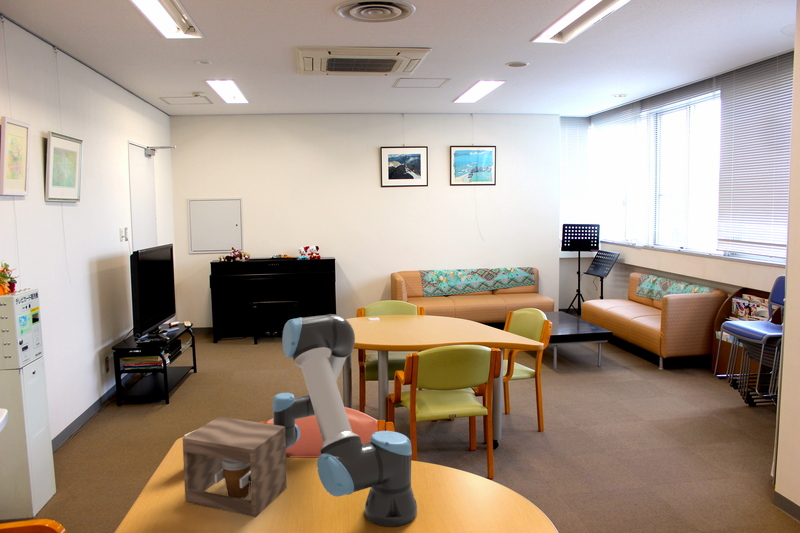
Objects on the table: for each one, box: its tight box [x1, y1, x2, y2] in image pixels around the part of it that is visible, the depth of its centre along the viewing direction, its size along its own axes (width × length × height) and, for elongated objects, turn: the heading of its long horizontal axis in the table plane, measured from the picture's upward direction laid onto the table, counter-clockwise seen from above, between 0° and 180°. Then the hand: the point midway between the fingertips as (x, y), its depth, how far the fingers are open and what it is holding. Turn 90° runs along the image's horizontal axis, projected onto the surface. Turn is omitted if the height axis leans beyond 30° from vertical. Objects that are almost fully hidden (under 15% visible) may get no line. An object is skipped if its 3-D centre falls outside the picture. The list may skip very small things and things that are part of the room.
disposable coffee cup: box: [221, 459, 251, 499], centre depth 168 cm, size 10×10×12 cm
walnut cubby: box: [182, 416, 287, 518], centre depth 167 cm, size 17×24×20 cm
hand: (228, 481), depth 164 cm, fingers closed on disposable coffee cup, 8 cm apart
